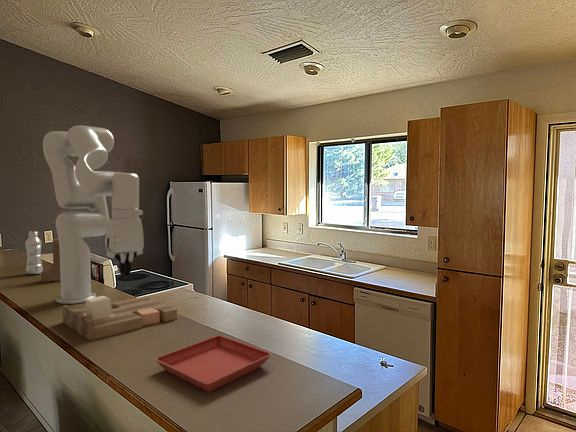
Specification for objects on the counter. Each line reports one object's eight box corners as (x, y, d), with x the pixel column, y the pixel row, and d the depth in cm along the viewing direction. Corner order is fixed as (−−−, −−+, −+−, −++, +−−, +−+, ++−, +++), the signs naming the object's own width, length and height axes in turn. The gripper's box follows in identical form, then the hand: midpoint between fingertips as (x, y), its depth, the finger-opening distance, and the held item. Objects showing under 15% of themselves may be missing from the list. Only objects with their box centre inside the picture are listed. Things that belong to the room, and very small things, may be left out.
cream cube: (86, 316, 113) (85, 299, 113) (103, 312, 117) (103, 295, 117) (93, 320, 110) (92, 302, 110) (111, 316, 114) (110, 298, 113)
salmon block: (136, 322, 118) (136, 310, 118) (153, 318, 121) (153, 307, 121) (142, 326, 114) (142, 314, 114) (159, 323, 117) (159, 311, 117)
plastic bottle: (37, 275, 184) (36, 232, 183) (22, 275, 184) (21, 232, 183) (46, 272, 190) (44, 231, 189) (32, 272, 190) (30, 231, 189)
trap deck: (62, 322, 117) (62, 305, 117) (144, 305, 135) (144, 290, 135) (89, 340, 103) (89, 321, 102) (177, 318, 121) (176, 302, 120)
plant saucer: (207, 400, 74) (207, 383, 74) (153, 372, 85) (153, 357, 85) (272, 368, 88) (272, 353, 87) (219, 347, 99) (219, 334, 99)
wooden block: (41, 282, 169) (40, 240, 168) (42, 280, 173) (41, 239, 172) (65, 280, 173) (64, 239, 172) (66, 278, 177) (65, 238, 176)
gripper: (143, 212, 127) (142, 269, 128) (94, 214, 116) (94, 276, 118) (154, 214, 122) (154, 273, 123) (104, 216, 111) (104, 281, 112)
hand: (125, 274), depth 120 cm, fingers closed
